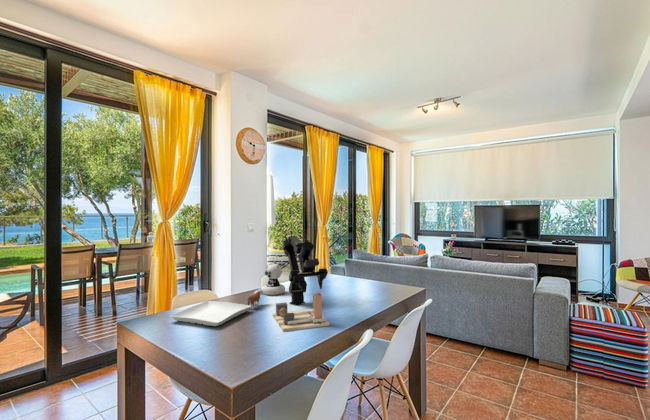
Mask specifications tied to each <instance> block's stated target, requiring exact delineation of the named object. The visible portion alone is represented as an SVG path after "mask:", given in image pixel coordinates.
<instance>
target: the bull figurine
mask: <svg viewBox="0 0 650 420" xmlns="http://www.w3.org/2000/svg"><path fill="white" fill-rule="evenodd" d="M262 295H265V294H264V293H263V291H262V290H261V288H259V289H256V291H254V292H253V293H252V294H250V295H248V296H247V305H251V307H252V308H253V309H256V308H257V307H256V306H258V307H259V306H260V305H259V302H260V298H261V296H262ZM251 307H250V308H251ZM250 308H249V309H250ZM249 309H248V310H249Z"/></svg>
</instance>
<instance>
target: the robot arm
mask: <svg viewBox="0 0 650 420" xmlns="http://www.w3.org/2000/svg"><path fill="white" fill-rule="evenodd" d="M281 246H282V251H283V254H284V255H285V256H287V259H288V263H289V269H290V272H289V275H288V281H289V282H290V283H289V285H288V292H289V293H290V295H291V301H289V304H290V305H293V306H294V305H295V306H299V305H304V304H306V301H305V295H304V293H306V292H307V289H308V288H307V287H308V286H307V285H308V283H307V280H306V279H305V277H307V278H308V277H309V278H311V277H317V283H318V285H319V289H320V290H322V289H323V282H324V280H325V279H326V277H327V276H328V273H329V271H328V269H327V268H326V267H325V268H323V267H322V268H318V270H317V271H315V269H316V268H315V267H316V266H317V267H318V266H319V265H320V260H319V258H314V259H311V258H310V257H311V256H312V253H313V251H314V247H315V245H314V243H312V242H311V241H310V240H308V239H305V240H303V241H302V240H300V239H299V238H298V236H296V235H290V236H288V237H287V238H286V239H285V240H284V241H283V242H282V245H281ZM297 254H298V255H297ZM296 255H297V256H296ZM297 259H298V260H297Z"/></svg>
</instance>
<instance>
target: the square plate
mask: <svg viewBox="0 0 650 420" xmlns="http://www.w3.org/2000/svg"><path fill="white" fill-rule="evenodd" d="M251 307H252V305H251V304H249V305H248V304H243V303H235V302H227V301H213V300H207V301H204V302H202V303H199V304H195V305H192V306H190V307H187V308H184V309H182V310H181V311H177V312H176V313H173V314H171V315H169V317H170V318H172V319H173V320H174V321H177V322H178V321H179V322H184V323H188V322H190V323H189V324H195V323H197V324H196V325H202V324H203V326H212V327H219V326H220V325H223V324H225V323H226V322H228V321H230V320H232V319H234V318H236V317H238V316H240V315H242V314H244V313H246V312H247V311H249V308H251Z"/></svg>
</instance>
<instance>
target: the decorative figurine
mask: <svg viewBox="0 0 650 420" xmlns="http://www.w3.org/2000/svg"><path fill="white" fill-rule="evenodd" d="M266 265H267V268H266V270H265V271H264V275H265V276H267V277H268V281H267V283H266V284H264V285H263V286H262V287H261V288H260V289H261V290H262V291H263V293H264V294H263V295H266V296H278V295H281V294H284V293H285V291H286V287H285V285H283V284H281V283H280V281H279V278H280V277H281V276H282V272H283V269H282V268H281V266H280V261H278V262H277V263H273V264H269V263H268V262H267V263H266Z"/></svg>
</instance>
